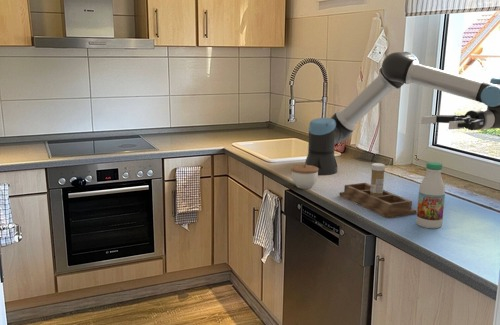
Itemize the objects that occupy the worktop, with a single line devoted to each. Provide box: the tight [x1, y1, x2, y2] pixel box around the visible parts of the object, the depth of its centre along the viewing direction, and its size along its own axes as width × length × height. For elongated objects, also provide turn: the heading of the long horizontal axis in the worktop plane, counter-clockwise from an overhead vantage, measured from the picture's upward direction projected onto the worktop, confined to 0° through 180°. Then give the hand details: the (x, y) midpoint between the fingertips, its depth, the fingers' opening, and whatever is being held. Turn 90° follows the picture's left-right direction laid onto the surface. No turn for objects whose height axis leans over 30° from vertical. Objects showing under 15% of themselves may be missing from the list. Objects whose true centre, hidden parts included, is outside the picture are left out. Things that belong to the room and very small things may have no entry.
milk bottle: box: [415, 161, 446, 229], centre depth 154 cm, size 8×8×20 cm
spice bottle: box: [370, 162, 386, 196], centre depth 176 cm, size 5×5×13 cm
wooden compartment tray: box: [338, 182, 417, 219], centre depth 177 cm, size 28×12×4 cm, turn 24°
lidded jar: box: [290, 163, 319, 190], centre depth 198 cm, size 11×11×9 cm
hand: (435, 122), depth 181 cm, fingers open, 13 cm apart
